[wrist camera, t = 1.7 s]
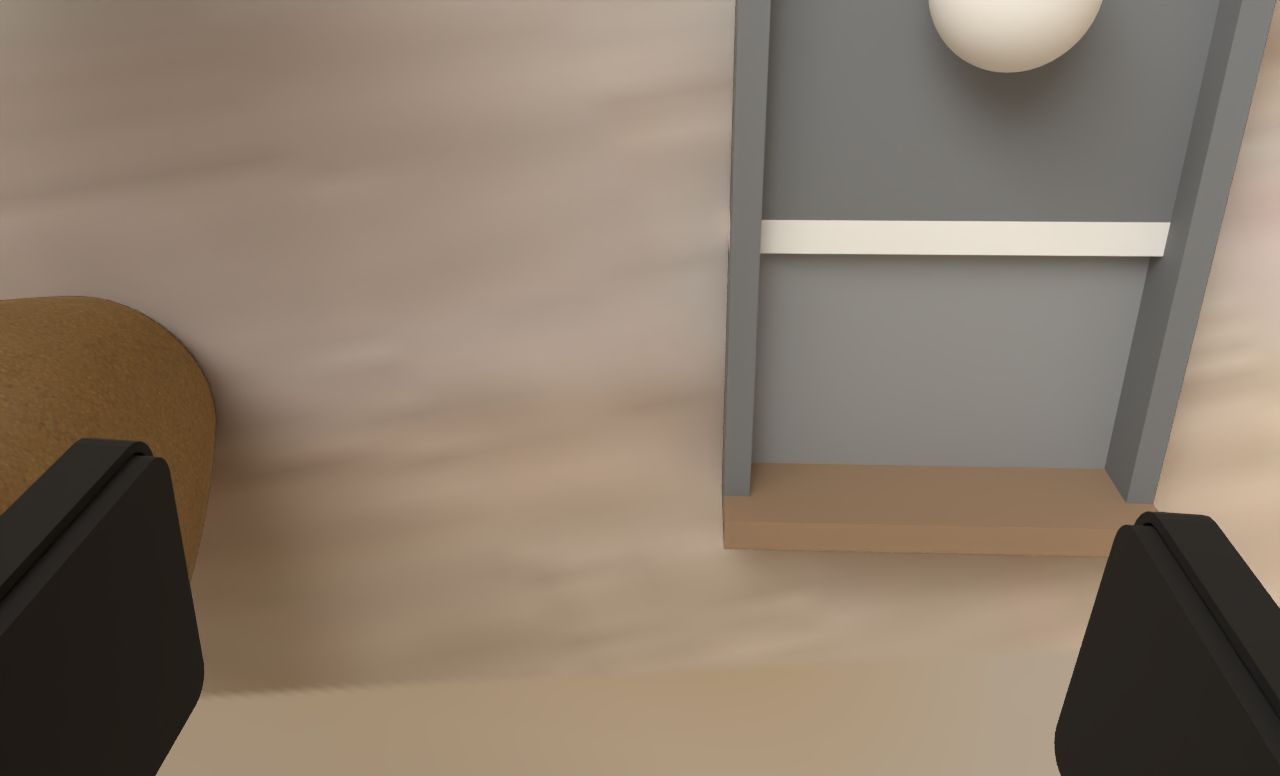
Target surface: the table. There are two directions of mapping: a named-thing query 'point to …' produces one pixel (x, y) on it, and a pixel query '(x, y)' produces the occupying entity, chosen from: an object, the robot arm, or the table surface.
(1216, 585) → the robot arm
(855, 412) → the tray
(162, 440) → the plant pot
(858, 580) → the table surface
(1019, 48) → the ball
